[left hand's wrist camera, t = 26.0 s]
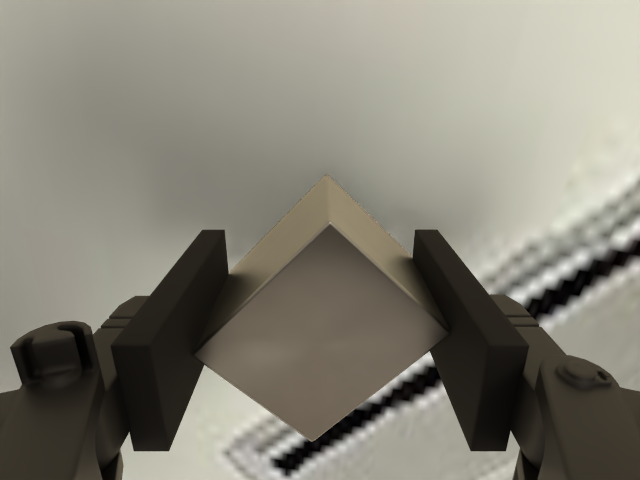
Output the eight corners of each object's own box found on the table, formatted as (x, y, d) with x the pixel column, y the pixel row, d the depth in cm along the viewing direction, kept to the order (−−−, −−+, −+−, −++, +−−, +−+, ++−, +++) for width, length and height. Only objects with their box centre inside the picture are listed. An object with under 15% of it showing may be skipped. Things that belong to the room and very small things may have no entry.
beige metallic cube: (314, 340, 16) (312, 444, 11) (229, 271, 15) (189, 355, 10) (411, 255, 14) (453, 334, 10) (326, 173, 13) (330, 219, 9)
